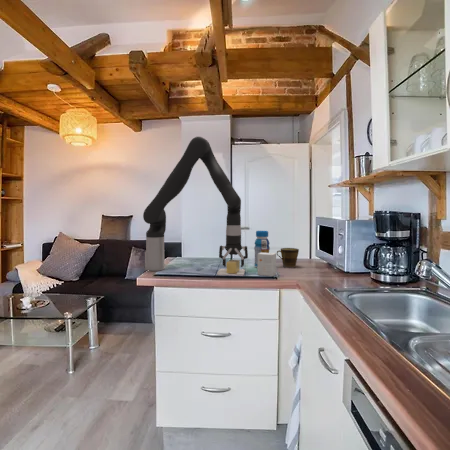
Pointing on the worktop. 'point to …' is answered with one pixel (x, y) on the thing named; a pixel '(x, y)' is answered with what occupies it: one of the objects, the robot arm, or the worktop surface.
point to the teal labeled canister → (261, 244)
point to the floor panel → (224, 272)
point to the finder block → (233, 266)
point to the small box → (266, 264)
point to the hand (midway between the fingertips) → (233, 266)
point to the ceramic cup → (289, 257)
